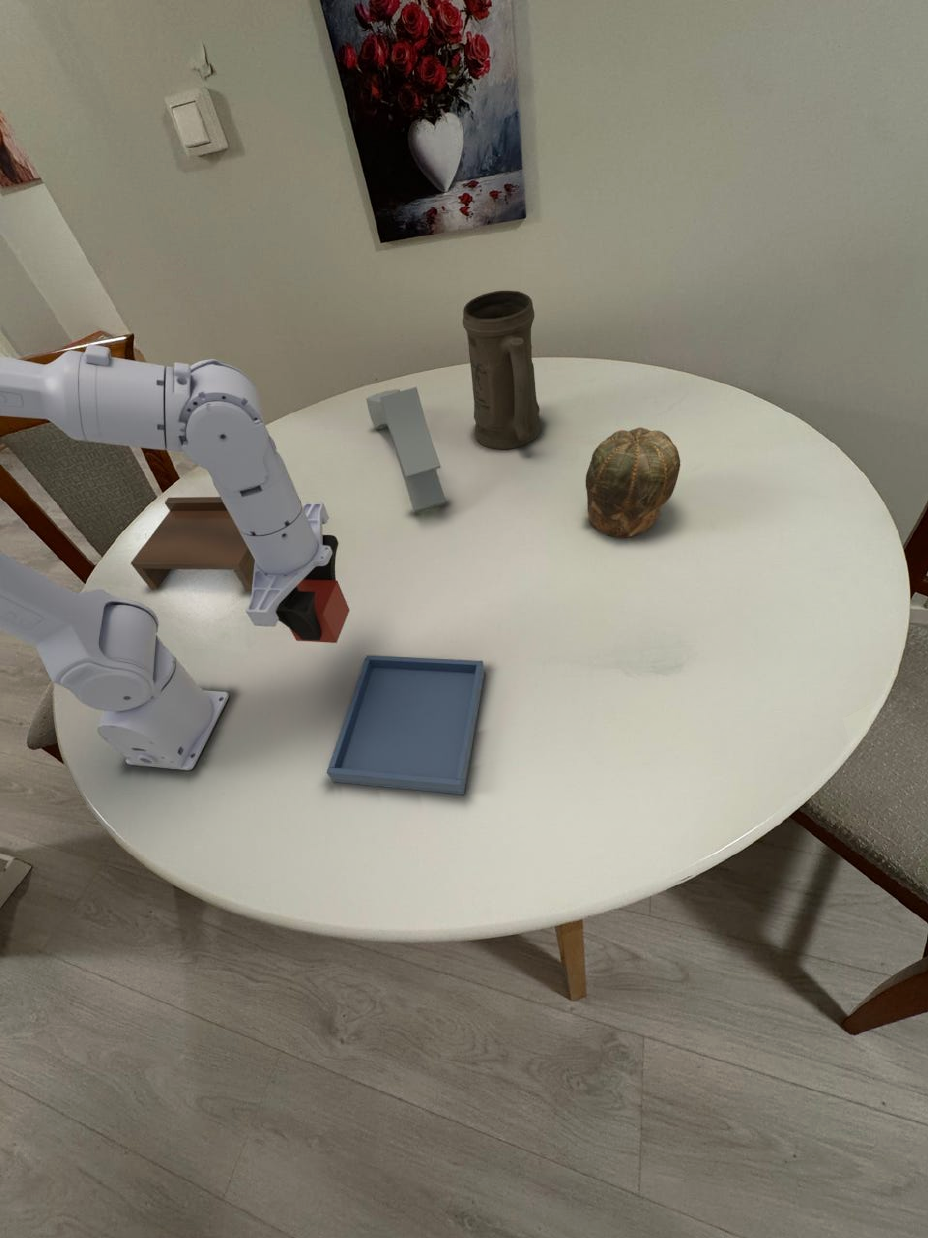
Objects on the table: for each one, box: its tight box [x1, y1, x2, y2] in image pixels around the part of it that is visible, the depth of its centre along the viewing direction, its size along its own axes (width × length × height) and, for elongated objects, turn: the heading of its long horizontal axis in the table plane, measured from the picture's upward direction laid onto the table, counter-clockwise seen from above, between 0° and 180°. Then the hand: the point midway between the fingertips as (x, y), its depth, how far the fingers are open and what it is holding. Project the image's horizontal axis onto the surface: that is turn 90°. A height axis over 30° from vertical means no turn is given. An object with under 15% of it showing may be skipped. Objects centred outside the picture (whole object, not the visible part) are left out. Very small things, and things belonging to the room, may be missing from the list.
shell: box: [585, 427, 681, 539], centre depth 72 cm, size 11×11×12 cm
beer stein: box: [462, 290, 542, 450], centre depth 86 cm, size 15×11×20 cm
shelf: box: [130, 496, 255, 593], centre depth 80 cm, size 12×16×6 cm
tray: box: [326, 654, 486, 796], centre depth 60 cm, size 14×13×2 cm
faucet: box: [365, 386, 447, 515], centre depth 88 cm, size 6×17×30 cm
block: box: [289, 579, 351, 644], centre depth 59 cm, size 4×4×4 cm
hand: (319, 618), depth 60 cm, fingers closed on block, 4 cm apart
